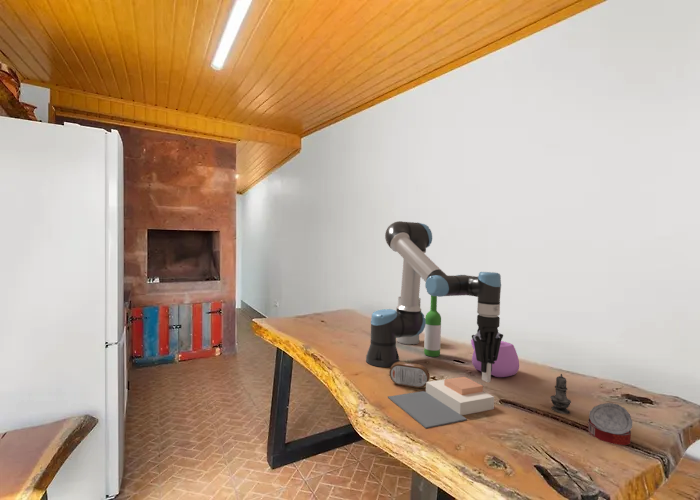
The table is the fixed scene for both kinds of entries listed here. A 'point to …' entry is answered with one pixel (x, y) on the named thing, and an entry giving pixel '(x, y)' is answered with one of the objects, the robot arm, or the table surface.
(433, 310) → the wine bottle
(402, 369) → the tin
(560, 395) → the dark grey turned piece
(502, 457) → the table surface
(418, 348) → the table surface
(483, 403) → the plate
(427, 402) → the mat
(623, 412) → the canned food
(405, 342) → the cylinder vase
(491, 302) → the robot arm
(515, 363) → the teapot
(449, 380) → the tile
